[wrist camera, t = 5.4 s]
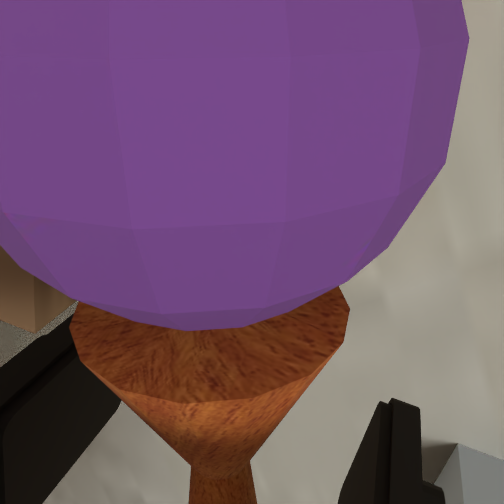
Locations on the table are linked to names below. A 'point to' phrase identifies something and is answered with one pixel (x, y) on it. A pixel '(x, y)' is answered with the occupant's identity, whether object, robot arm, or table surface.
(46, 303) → the walnut block
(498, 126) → the table surface
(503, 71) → the table surface
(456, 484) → the dusty blue block
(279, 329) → the kendama
